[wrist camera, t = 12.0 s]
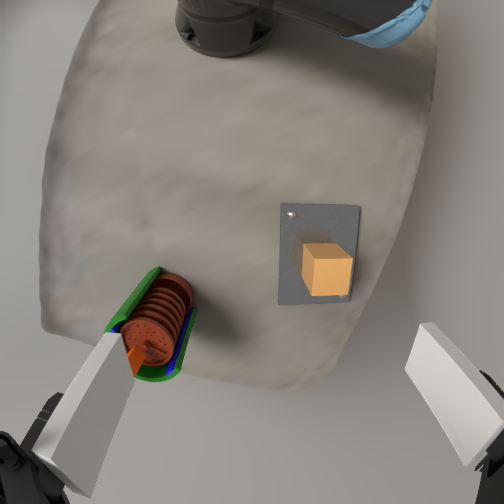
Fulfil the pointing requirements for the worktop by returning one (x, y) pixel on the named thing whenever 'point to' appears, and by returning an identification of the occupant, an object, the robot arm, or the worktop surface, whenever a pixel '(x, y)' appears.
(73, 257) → the worktop surface
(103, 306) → the worktop surface
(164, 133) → the worktop surface
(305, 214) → the plate
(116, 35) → the worktop surface
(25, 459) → the robot arm
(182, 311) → the motor
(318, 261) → the orange block
